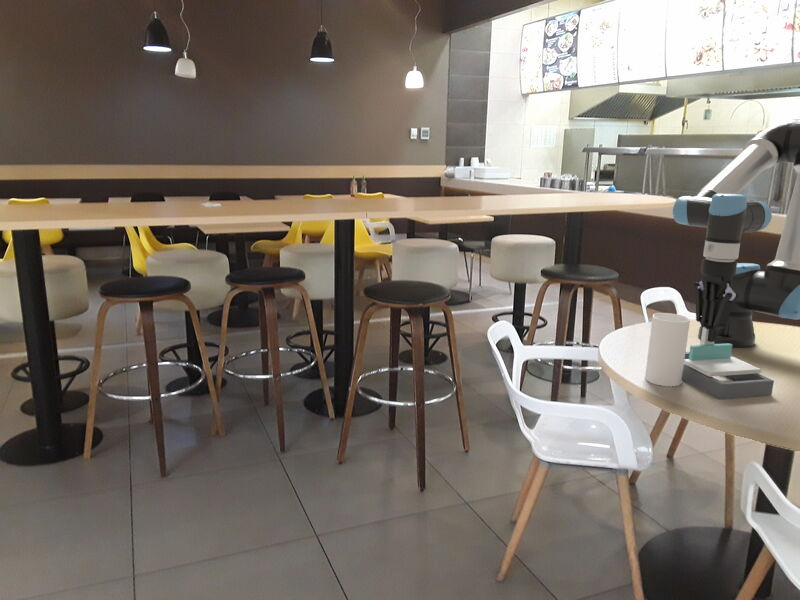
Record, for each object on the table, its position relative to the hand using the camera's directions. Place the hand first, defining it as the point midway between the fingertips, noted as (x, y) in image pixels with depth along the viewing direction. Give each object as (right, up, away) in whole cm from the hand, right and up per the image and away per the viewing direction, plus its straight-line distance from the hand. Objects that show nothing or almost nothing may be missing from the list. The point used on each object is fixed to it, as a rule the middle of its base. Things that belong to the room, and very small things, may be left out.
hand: (705, 352), depth 155 cm
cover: (+1, -3, -5) cm, 6 cm away
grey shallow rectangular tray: (+1, -7, -2) cm, 7 cm away
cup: (-12, -7, -2) cm, 14 cm away
